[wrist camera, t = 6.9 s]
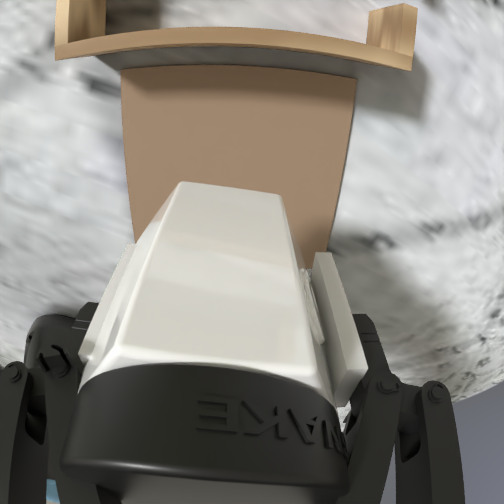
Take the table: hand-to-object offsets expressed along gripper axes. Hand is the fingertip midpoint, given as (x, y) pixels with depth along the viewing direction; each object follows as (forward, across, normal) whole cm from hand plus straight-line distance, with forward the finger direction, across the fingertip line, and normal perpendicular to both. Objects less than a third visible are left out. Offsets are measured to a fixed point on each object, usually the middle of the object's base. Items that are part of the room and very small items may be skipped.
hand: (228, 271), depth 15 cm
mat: (+13, 0, 0) cm, 13 cm away
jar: (+2, 0, 0) cm, 2 cm away
